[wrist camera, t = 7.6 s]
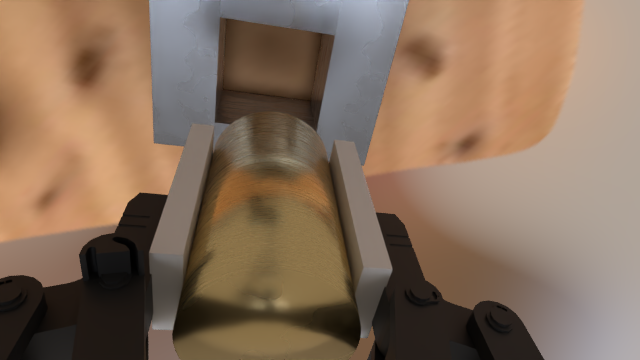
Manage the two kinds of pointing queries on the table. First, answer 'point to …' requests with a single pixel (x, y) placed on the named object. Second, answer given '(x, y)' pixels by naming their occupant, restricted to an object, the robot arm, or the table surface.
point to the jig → (228, 106)
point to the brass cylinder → (268, 252)
